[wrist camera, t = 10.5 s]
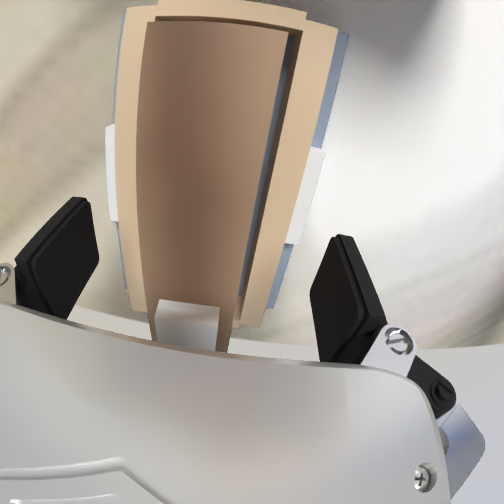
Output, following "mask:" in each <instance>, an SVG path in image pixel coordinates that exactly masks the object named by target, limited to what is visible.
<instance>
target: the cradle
mask: <svg viewBox="0 0 504 504" xmlns="http://www.w3.org/2000/svg"><path fill="white" fill-rule="evenodd" d="M306 15H307V12H304V11H300V10H296V9H291V8H287V7H282V6H277V5H271V4H265V3H259V2H252V1H244V0H159V1H158V5H151V6H138V7H129V8H127V10H125V12H124V17H123V23H122V28H121V35H120V42H119V49H118V57H117V66H116V77H115V89H114V107H113V124H112V125H110V126H108V127H106V128H105V145H106V175H107V191H108V203H109V213H110V221H117V228H118V237H119V245H120V253H121V260H122V267H123V273H124V279H125V285H126V289H128V295H129V300H130V305H131V310H134V311H140V312H146V313H148V312H147V306H146V299H145V291H144V283H143V275H142V266H141V256H140V245H139V232H138V216H137V194H136V132H137V110H138V95H139V83H140V73H141V63H142V55H143V48H144V41H145V34H146V28H147V22H154V21H205V22H221V23H232V24H241V25H249V26H256V27H263V28H269V29H275V30H280V31H285V32H289V33H288V38H287V43H286V48H285V53H284V58H283V63H282V68H281V73H280V78H279V83H278V88H277V93H276V98H275V103H274V108H273V113H272V118H271V123H270V128H269V133H268V138H267V144H266V149H265V154H264V159H263V164H262V169H261V175H260V180H259V185H258V190H257V195H256V201H255V206H254V211H253V216H252V222H251V227H250V232H249V237H248V243H247V248H246V253H245V259H244V264H243V269H242V275H241V280H240V285H239V291H238V296H237V301H236V307H235V312H234V318H233V323H232V328H236V329H238V328H239V325H240V326H250V327H260V324H261V321H262V318H263V315H264V311H265V308H273V307H274V304H275V301H276V298H277V295H278V292H279V289H280V286H281V283H282V280H283V277H284V273H285V270H286V267H287V264H288V261H289V258H290V254H291V251H292V248H293V245H294V244H295V245H298V244H299V241H300V238H301V235H302V232H303V228H304V225H305V222H306V219H307V215H308V212H309V209H310V205H311V202H312V199H313V195H314V192H315V189H316V185H317V182H318V178H319V175H320V171H321V168H322V164H323V161H324V157H325V153H324V152H323V150H322V149H321V147H322V143H323V140H324V136H325V132H326V128H327V124H328V120H329V117H330V113H331V109H332V105H333V101H334V97H335V92H336V88H337V84H338V80H339V76H340V71H341V67H342V63H343V58H344V54H345V49H346V45H347V40H348V36H349V35H347V34H344V33H341V32H338V28H335V27H331V26H328V25H324V24H321V23H317V22H314V21H310V20H306Z"/></svg>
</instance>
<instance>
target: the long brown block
mask: <svg viewBox="0 0 504 504" xmlns="http://www.w3.org/2000/svg"><path fill="white" fill-rule="evenodd" d="M288 33H289V32H285V31H280V30H275V29H269V28H263V27H256V26H249V25H241V24H232V23H221V22H205V21H154V22H147V28H146V34H145V41H144V48H143V55H142V63H141V73H140V83H139V95H138V110H137V132H136V194H137V216H138V232H139V245H140V256H141V266H142V275H143V283H144V291H145V299H146V306H147V312H148V319H149V325H150V331H151V336H152V341H156V342H161V343H166V344H171V345H177V346H183V347H189V348H195V349H201V350H208V351H216V352H225V353H227V350H228V345H229V339H230V334H231V329H232V323H233V318H234V312H235V307H236V301H237V296H238V291H239V285H240V280H241V275H242V269H243V264H244V259H245V253H246V248H247V243H248V237H249V232H250V227H251V222H252V216H253V211H254V206H255V201H256V195H257V190H258V185H259V180H260V175H261V169H262V164H263V159H264V154H265V149H266V144H267V138H268V133H269V128H270V123H271V118H272V113H273V108H274V103H275V98H276V93H277V88H278V83H279V78H280V73H281V68H282V63H283V58H284V53H285V48H286V43H287V38H288Z"/></svg>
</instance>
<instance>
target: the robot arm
mask: <svg viewBox="0 0 504 504" xmlns="http://www.w3.org/2000/svg"><path fill="white" fill-rule="evenodd" d="M15 262H16V264H17V265H16V267H15V268H14V267H13V266H12V265H11V264H9V263H2V264H0V504H451V501H450V500H451V499H452V497H453V496H454V495H455V493H456V492H457V491H458V490H459V489H460V487H461V486H462V485H463V483H464V482H465V481H466V479H467V477H468V476H469V475H470V473H471V472H472V470H473V469H474V468H475V466H476V465H477V463H478V462H479V460H480V458H481V457H482V455H483V453H484V451H485V440H484V437H483V435H482V434H481V432H480V431H479V429H478V428H477V427H476V425H475V424H474V422H473V421H472V420H471V418H470V417H469V416H468V414H467V413H466V412H465V410H464V409H463V408H462V406H461V405H460V404H459V405H457V406H456V404H455V402H456V393H455V390H454V388H453V386H452V384H451V383H450V382H449V381H448V380H447V379H446V378H444V377H443V376H442V375H441V374H439V373H438V372H437V371H435V370H434V369H433V368H432V367H430V366H429V365H428V364H426V363H425V362H424V361H422V360H421V359H420V358H419V357H417V356H416V355H415V354H416V351H417V344H416V341H415V338H414V336H413V335H412V334H411V333H410V332H409V331H408V330H407V329H406V328H404V327H403V326H401V325H398V324H388V323H387V320H386V318H385V317H386V316H385V314H384V311H383V308H382V306H381V303H380V300H379V298H378V295H377V293H376V290H375V288H374V285H373V283H372V280H371V278H370V276H369V273H368V271H367V268H366V266H365V264H364V261H363V259H362V257H361V255H360V252H359V250H358V248H357V246H356V243H355V241H354V239H353V237H351V236H346V235H341V234H337V235H336V237H332V238H331V239H330V242H329V244H328V247H327V249H326V252H325V254H324V257H323V259H322V262H321V264H320V267H319V269H318V272H317V274H316V277H315V279H314V282H313V284H312V286H311V289H310V302H311V307H312V313H313V319H314V326H315V332H316V338H317V345H318V352H319V359H320V362H315V361H301V360H289V359H276V358H264V357H255V356H246V355H237V354H229V353H222V352H215V351H208V350H201V349H195V348H189V347H183V346H177V345H171V344H166V343H161V342H156V341H150V340H146V339H141V338H136V337H132V336H127V335H123V334H118V333H114V332H110V331H105V330H102V329H97V328H94V327H90V326H86V325H82V324H79V323H75V322H72V321H68V320H67V318H68V316H69V314H70V312H71V311H72V309H73V307H74V305H75V303H76V301H77V299H78V298H79V296H80V294H81V292H82V290H83V289H84V287H85V285H86V284H87V282H88V280H89V278H90V277H91V275H92V273H93V272H94V270H95V268H96V267H97V265H98V262H99V253H98V248H97V242H96V237H95V231H94V225H93V218H92V211H91V205H90V203H89V202H88V201H87V199H86V198H82V197H72V198H71V199H70V200H68V201H67V202H66V203H65V204H64V205H63V206H62V207H61V208H60V209H59V210H58V211H57V212H56V213H55V214H54V215H53V216H52V217H51V218H50V219H49V220H48V221H47V223H46V224H45V225H44V226H43V227H42V228H41V229H40V230H39V231H38V232H37V233H36V234H35V235H34V237H33V238H32V239H31V240H30V241H29V242H28V243H27V245H26V246H25V247H24V248H23V249H22V250H21V252H20V253H19V254H18V255H17V256H16V258H15Z"/></svg>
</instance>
